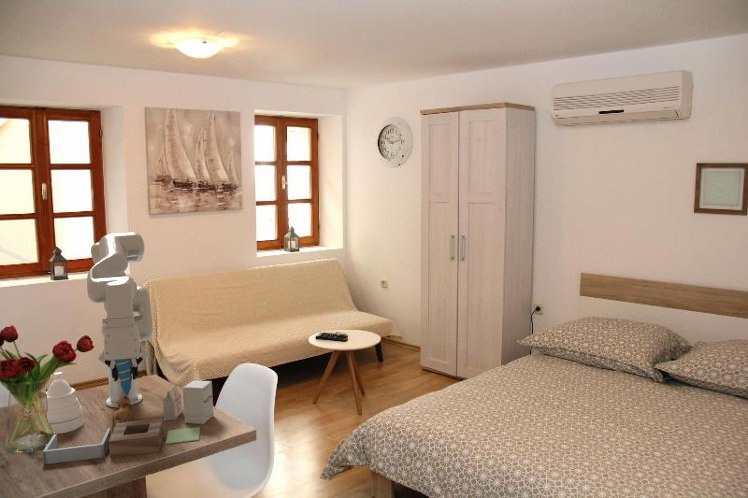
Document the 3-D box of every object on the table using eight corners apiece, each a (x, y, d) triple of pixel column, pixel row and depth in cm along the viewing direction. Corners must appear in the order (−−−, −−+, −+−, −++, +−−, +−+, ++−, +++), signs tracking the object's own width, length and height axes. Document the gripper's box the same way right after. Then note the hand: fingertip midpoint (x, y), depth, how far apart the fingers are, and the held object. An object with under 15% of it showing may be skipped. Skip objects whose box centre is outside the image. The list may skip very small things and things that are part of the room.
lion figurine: (118, 419, 217) (116, 394, 215) (134, 417, 218) (132, 392, 216) (109, 436, 202) (107, 410, 201) (126, 435, 203) (124, 408, 202)
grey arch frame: (55, 446, 196) (53, 434, 195) (111, 440, 200) (110, 428, 199) (44, 464, 184) (42, 451, 184) (104, 457, 188) (103, 444, 187)
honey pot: (44, 422, 216) (38, 372, 213) (84, 416, 220) (80, 366, 218) (38, 436, 204) (33, 383, 201) (82, 429, 208) (77, 377, 206)
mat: (168, 431, 205) (168, 430, 205) (200, 427, 207) (200, 426, 207) (165, 444, 195) (165, 443, 195) (198, 440, 198) (198, 439, 197)
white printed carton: (164, 419, 215) (162, 391, 214) (172, 412, 222) (170, 385, 220) (175, 419, 215) (173, 391, 213) (182, 412, 221) (180, 384, 220)
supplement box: (204, 424, 210) (202, 388, 208) (184, 423, 211) (181, 387, 210) (214, 415, 217) (212, 380, 215) (194, 414, 219) (192, 379, 217)
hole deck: (117, 438, 201) (116, 423, 200) (163, 432, 204) (162, 418, 203) (110, 457, 187) (108, 441, 187) (159, 451, 191) (158, 435, 190)
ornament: (117, 399, 191) (113, 352, 189) (117, 394, 196) (113, 347, 194) (136, 396, 193) (131, 349, 191) (135, 391, 198) (131, 345, 196)
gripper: (88, 326, 186) (93, 386, 188) (148, 322, 189) (152, 380, 192) (94, 320, 193) (99, 377, 196) (151, 316, 197) (156, 372, 199)
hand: (125, 378), depth 194 cm, fingers closed on ornament, 4 cm apart
